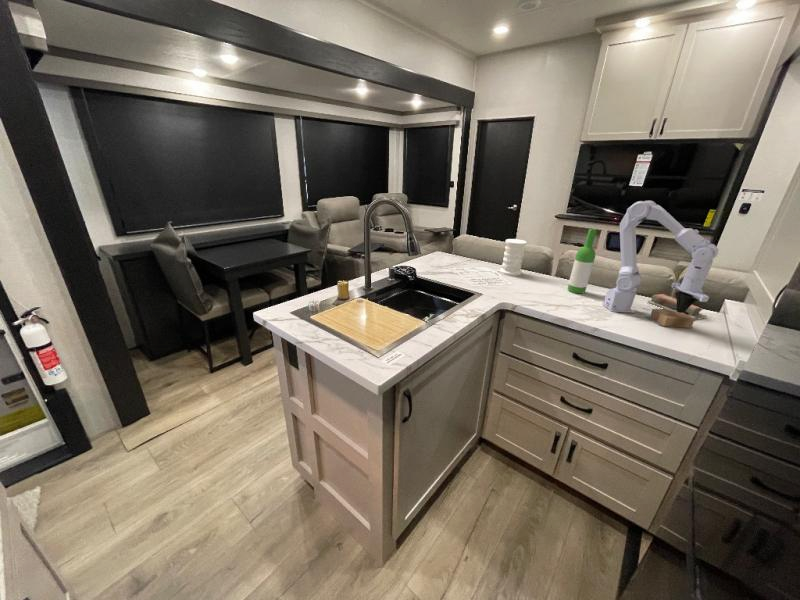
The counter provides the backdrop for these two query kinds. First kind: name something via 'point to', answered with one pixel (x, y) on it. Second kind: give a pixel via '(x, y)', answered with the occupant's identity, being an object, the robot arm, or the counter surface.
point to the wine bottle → (582, 265)
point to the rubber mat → (654, 320)
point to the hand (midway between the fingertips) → (680, 311)
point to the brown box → (672, 318)
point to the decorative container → (513, 257)
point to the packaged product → (674, 305)
